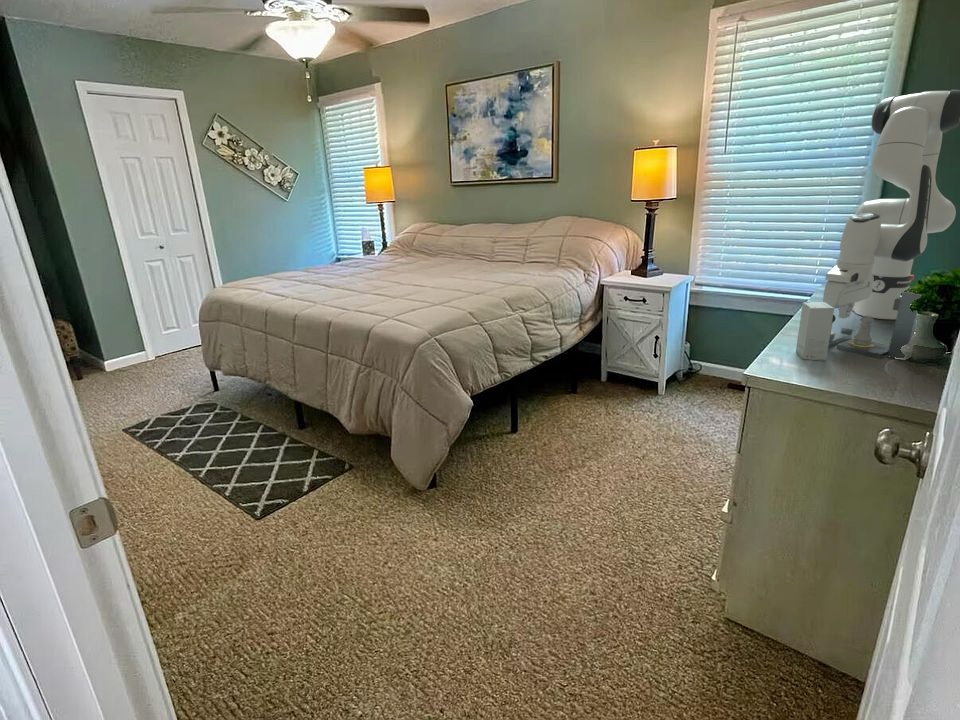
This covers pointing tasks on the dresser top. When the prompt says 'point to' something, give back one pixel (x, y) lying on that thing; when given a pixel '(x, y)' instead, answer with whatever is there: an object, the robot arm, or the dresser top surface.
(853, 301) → the robot arm
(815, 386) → the dresser top surface
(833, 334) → the lever
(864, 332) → the rook chess piece
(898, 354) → the press
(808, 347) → the skincare box
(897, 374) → the dresser top surface
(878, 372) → the dresser top surface
